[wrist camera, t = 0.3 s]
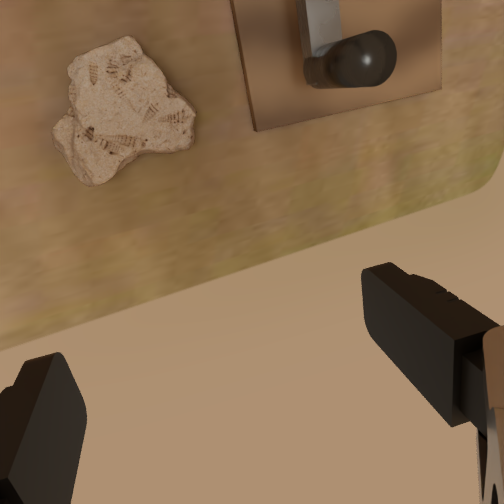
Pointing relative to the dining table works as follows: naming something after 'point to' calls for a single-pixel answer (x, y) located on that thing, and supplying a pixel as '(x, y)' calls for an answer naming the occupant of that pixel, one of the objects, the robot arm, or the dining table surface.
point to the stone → (119, 112)
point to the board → (352, 23)
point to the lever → (341, 49)
